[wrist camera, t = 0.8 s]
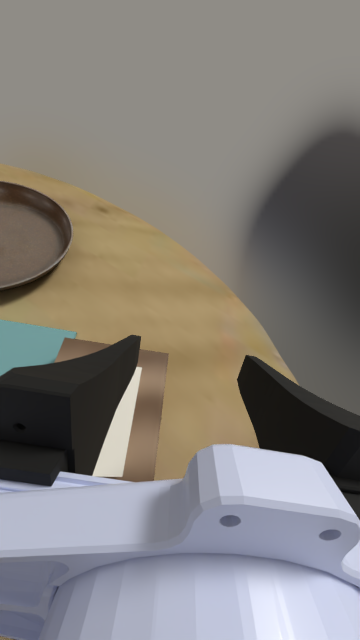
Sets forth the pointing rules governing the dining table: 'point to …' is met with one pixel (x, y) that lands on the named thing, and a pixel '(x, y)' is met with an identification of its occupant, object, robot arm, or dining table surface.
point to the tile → (119, 433)
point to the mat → (29, 344)
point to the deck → (146, 407)
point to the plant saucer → (30, 234)
